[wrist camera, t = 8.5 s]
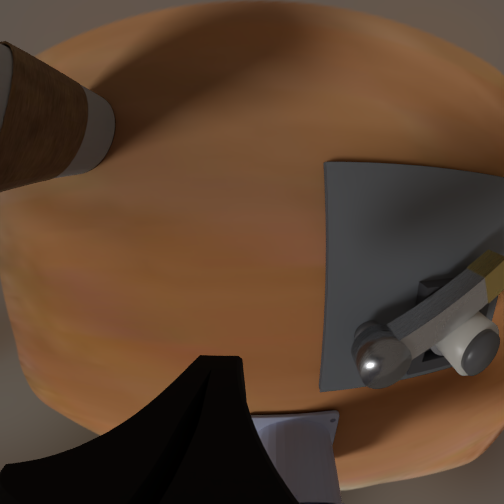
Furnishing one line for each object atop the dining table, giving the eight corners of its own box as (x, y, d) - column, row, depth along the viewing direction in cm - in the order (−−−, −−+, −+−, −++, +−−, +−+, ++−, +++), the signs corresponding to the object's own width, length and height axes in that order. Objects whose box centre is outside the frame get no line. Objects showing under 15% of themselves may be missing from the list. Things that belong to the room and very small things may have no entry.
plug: (461, 341, 17) (493, 374, 12) (416, 352, 17) (446, 393, 12) (474, 288, 16) (515, 315, 11) (429, 295, 16) (469, 329, 11)
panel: (475, 353, 18) (485, 364, 16) (318, 385, 19) (322, 402, 17) (503, 178, 14) (519, 179, 12) (323, 162, 15) (330, 160, 13)
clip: (359, 372, 16) (369, 396, 14) (343, 340, 15) (353, 364, 13) (493, 280, 14) (513, 292, 11) (486, 242, 13) (509, 251, 11)
